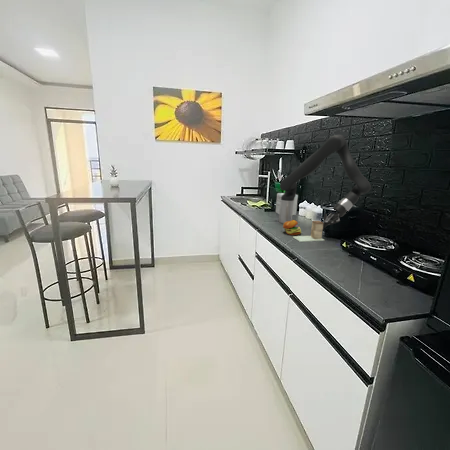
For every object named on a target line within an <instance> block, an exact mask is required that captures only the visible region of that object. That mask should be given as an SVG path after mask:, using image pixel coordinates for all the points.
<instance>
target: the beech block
mask: <svg viewBox="0 0 450 450" xmlns="http://www.w3.org/2000/svg"><path fill="white" fill-rule="evenodd" d="M323 223H324V221H320V220H312V223H311V229H310V236H311V237H312V238H314V239H321V238H322V239H323V230H324V229H323Z"/></svg>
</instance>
